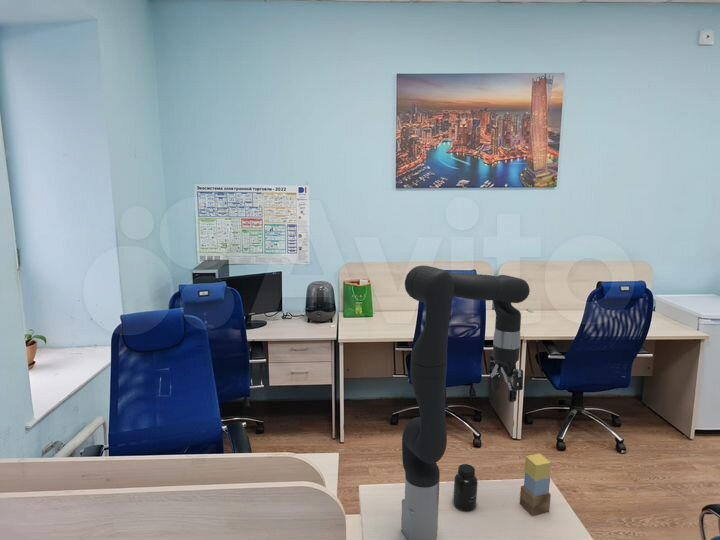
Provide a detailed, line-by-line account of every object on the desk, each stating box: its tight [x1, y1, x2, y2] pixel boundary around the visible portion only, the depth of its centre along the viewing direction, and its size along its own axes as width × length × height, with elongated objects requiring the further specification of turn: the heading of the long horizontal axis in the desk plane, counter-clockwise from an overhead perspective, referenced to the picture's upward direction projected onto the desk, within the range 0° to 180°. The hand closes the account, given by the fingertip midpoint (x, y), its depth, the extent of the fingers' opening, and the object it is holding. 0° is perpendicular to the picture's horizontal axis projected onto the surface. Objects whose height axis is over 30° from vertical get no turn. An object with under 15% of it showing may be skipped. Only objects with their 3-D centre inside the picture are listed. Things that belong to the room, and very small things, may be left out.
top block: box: [524, 453, 552, 481], centre depth 147 cm, size 5×5×5 cm
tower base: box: [519, 484, 552, 517], centre depth 149 cm, size 6×6×6 cm
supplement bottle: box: [452, 463, 478, 512], centre depth 150 cm, size 7×7×12 cm
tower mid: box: [523, 471, 551, 497], centre depth 148 cm, size 5×5×5 cm
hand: (503, 395), depth 149 cm, fingers open, 8 cm apart
